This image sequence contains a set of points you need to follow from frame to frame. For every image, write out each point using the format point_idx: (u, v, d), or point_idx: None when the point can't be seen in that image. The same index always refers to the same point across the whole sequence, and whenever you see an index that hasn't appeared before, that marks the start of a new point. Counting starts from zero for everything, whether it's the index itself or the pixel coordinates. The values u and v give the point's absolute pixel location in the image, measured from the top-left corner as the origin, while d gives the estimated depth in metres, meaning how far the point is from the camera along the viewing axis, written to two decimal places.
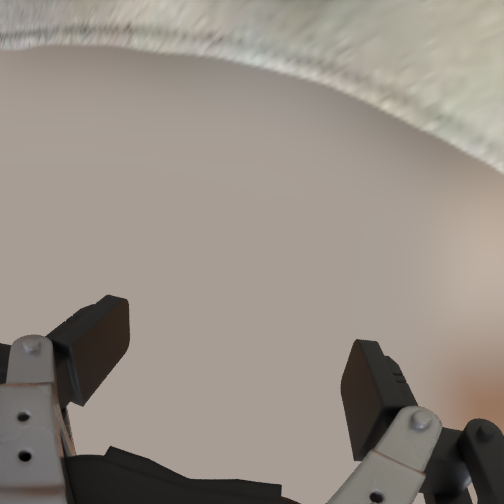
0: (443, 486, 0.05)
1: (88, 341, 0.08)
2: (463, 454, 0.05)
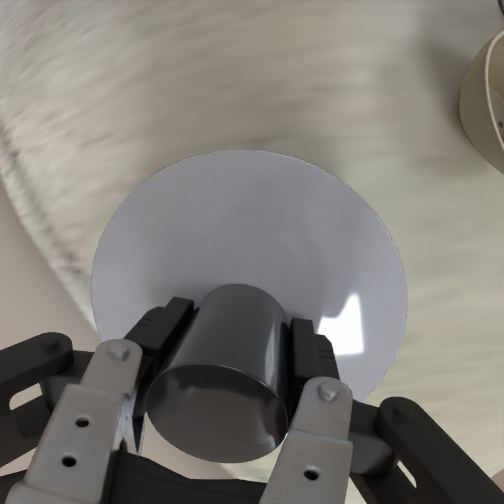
0: (361, 464, 0.06)
1: (169, 342, 0.09)
2: (378, 431, 0.06)
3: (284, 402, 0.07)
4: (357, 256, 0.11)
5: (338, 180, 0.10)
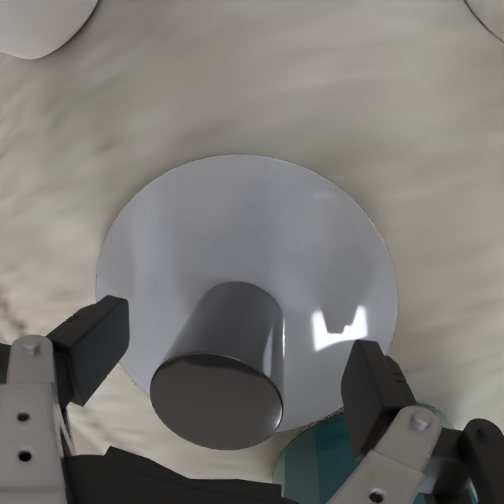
0: (443, 486, 0.05)
1: (88, 341, 0.08)
2: (463, 454, 0.05)
3: (279, 390, 0.07)
4: (349, 255, 0.11)
5: (331, 183, 0.11)
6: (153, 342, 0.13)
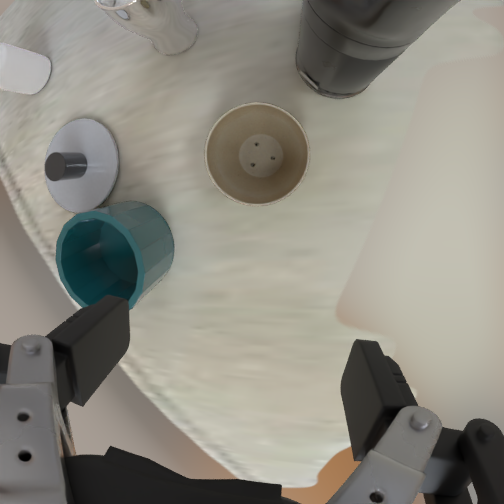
0: (443, 486, 0.05)
1: (88, 341, 0.08)
2: (463, 454, 0.05)
3: (64, 159, 0.32)
4: (101, 140, 0.36)
5: (96, 122, 0.35)
6: None
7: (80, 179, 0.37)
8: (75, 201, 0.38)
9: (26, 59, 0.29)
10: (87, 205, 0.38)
